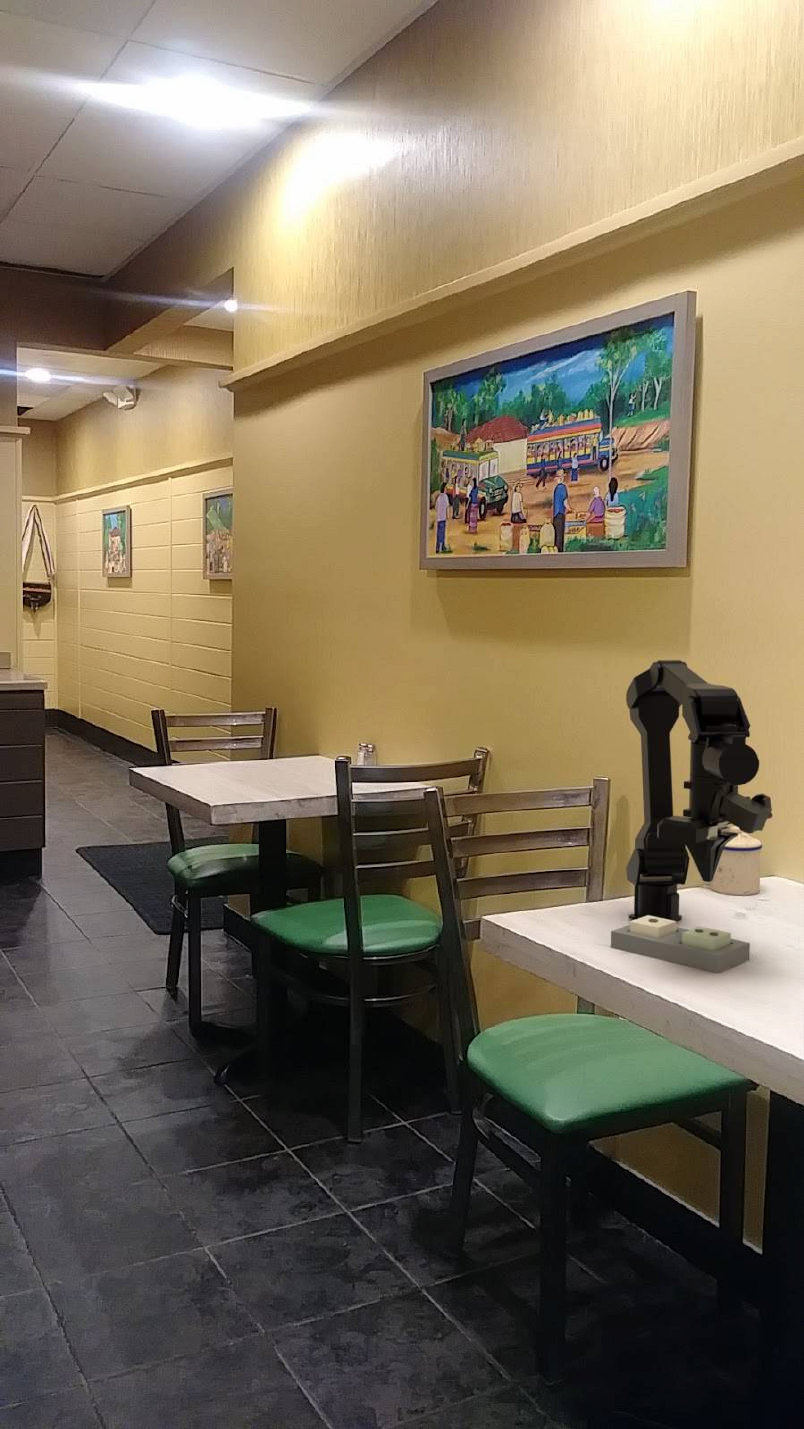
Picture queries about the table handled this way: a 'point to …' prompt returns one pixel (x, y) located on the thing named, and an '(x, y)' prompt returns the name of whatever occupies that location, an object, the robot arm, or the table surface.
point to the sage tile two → (706, 938)
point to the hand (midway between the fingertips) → (707, 881)
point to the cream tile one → (653, 926)
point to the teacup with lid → (738, 866)
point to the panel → (681, 950)
